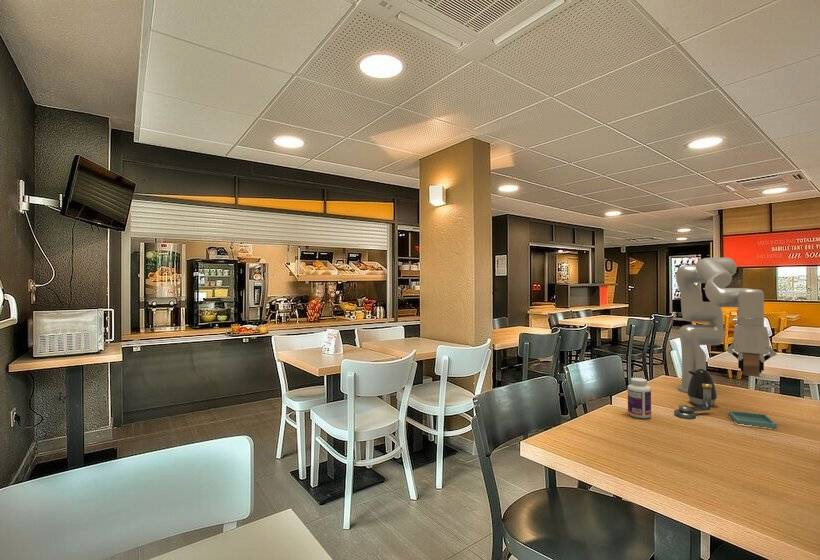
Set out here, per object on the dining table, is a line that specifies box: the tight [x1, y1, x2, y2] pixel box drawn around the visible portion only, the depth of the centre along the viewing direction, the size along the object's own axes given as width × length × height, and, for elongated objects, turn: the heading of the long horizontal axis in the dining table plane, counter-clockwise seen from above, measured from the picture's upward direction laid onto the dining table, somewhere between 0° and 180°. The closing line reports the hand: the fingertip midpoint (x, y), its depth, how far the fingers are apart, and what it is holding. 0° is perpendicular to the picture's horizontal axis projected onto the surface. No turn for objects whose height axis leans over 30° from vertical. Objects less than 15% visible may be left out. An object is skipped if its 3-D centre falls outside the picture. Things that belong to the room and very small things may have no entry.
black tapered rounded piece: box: [686, 369, 718, 406], centre depth 174 cm, size 10×10×15 cm
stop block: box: [742, 353, 761, 378], centre depth 152 cm, size 4×4×8 cm
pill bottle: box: [627, 377, 652, 419], centre depth 160 cm, size 8×8×14 cm
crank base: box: [673, 408, 697, 420], centre depth 160 cm, size 7×7×2 cm
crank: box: [678, 383, 712, 413], centre depth 161 cm, size 15×4×10 cm, turn 104°
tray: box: [728, 410, 778, 429], centre depth 152 cm, size 11×11×2 cm
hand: (750, 371), depth 152 cm, fingers closed on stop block, 4 cm apart
